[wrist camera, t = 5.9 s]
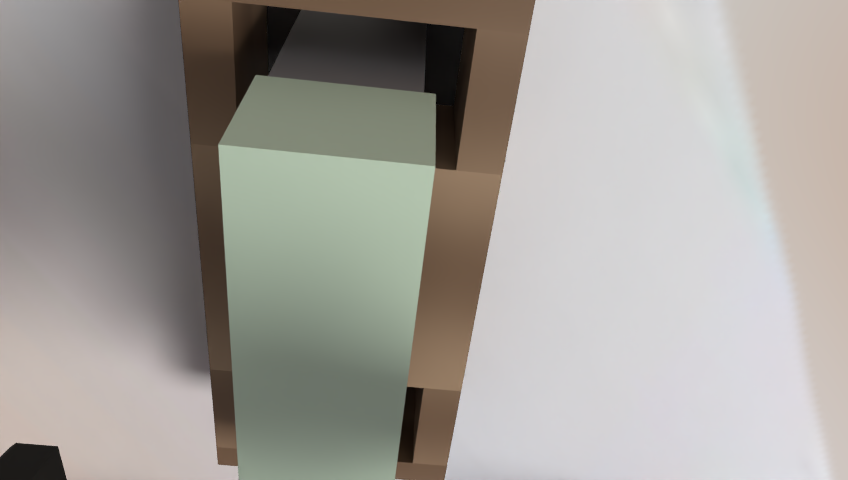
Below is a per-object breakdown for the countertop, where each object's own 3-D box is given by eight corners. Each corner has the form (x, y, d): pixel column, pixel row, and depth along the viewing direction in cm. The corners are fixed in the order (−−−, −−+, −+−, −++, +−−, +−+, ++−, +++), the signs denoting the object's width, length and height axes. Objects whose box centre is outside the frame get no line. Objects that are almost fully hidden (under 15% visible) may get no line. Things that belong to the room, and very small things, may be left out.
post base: (443, 399, 22) (443, 483, 20) (243, 381, 22) (218, 464, 19) (520, -50, 15) (536, -7, 12) (219, -85, 14) (174, -48, 12)
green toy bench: (397, 359, 21) (383, 570, 16) (293, 350, 21) (243, 559, 16) (436, 17, 16) (435, 166, 10) (295, 2, 15) (218, 144, 10)
